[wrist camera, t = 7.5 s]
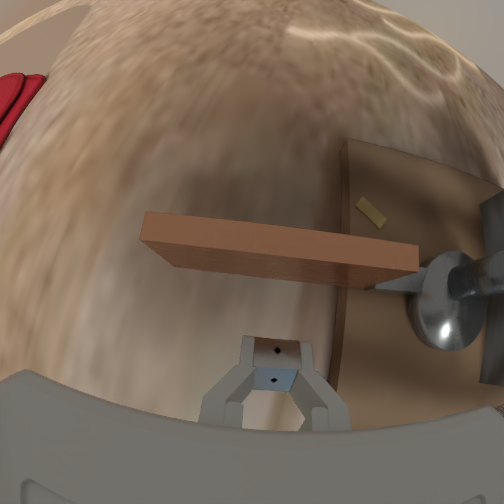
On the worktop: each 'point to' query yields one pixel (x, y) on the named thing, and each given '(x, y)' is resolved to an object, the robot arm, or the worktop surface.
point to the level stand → (396, 305)
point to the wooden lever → (340, 268)
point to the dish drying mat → (16, 98)
